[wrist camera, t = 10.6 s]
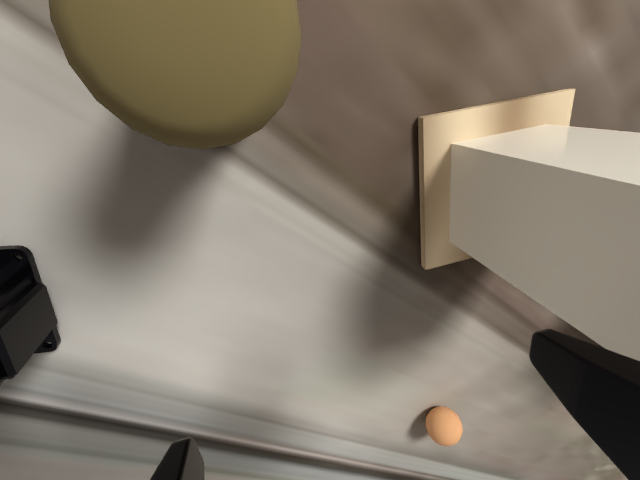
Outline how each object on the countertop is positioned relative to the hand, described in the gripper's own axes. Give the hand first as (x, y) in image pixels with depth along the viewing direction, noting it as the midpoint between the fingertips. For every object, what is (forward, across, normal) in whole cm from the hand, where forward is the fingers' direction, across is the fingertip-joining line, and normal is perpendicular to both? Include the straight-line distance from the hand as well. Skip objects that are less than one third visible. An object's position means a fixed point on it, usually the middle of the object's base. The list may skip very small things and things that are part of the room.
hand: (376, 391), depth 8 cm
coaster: (+13, -13, 0) cm, 19 cm away
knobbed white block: (+12, -13, 0) cm, 18 cm away
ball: (+13, -9, +21) cm, 26 cm away
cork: (+13, +2, -9) cm, 16 cm away
